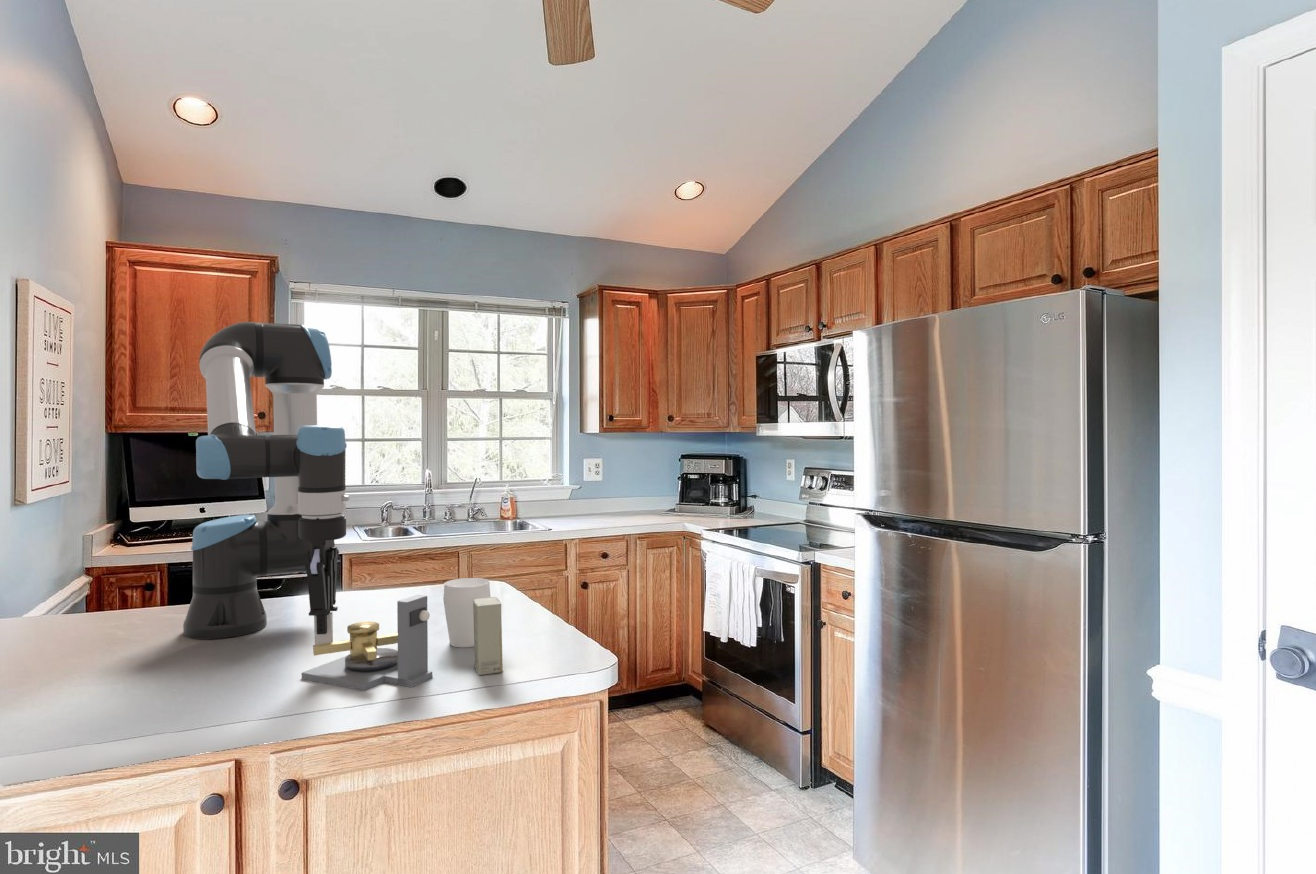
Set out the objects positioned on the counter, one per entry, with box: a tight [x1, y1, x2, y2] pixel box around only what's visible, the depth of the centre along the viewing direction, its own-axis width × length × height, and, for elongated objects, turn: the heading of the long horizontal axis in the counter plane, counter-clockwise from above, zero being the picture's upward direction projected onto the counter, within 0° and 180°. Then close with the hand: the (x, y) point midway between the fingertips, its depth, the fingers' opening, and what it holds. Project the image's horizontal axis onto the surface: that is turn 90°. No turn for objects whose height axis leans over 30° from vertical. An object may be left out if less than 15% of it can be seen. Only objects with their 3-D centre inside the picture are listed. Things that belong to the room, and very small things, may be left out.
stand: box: [301, 594, 433, 692], centre depth 131 cm, size 20×14×14 cm
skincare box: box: [473, 596, 504, 676], centre depth 134 cm, size 6×4×12 cm
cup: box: [442, 577, 491, 649], centre depth 149 cm, size 9×9×12 cm
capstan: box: [312, 621, 398, 671], centre depth 132 cm, size 17×16×7 cm
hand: (323, 650), depth 130 cm, fingers closed
